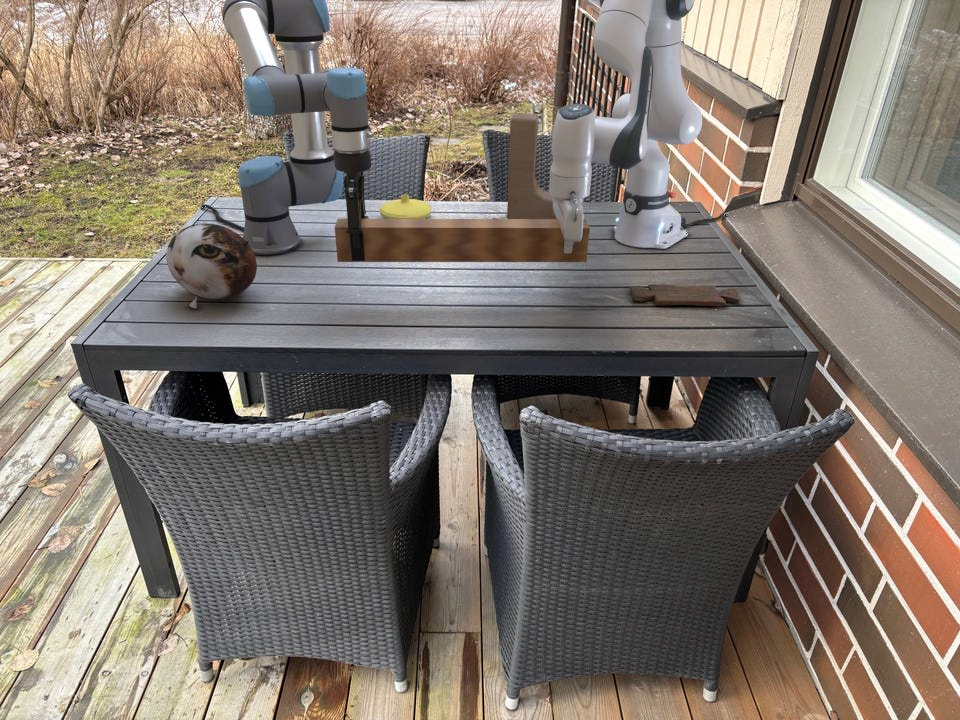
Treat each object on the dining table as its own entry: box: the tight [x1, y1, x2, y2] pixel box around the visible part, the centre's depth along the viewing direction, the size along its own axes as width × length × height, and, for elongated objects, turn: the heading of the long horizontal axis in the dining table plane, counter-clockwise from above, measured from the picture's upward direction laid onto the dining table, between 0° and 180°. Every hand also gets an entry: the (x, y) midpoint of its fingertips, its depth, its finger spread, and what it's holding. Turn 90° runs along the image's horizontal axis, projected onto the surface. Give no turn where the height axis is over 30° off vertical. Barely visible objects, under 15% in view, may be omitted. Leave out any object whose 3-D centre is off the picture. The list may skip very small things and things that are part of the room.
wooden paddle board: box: [629, 284, 740, 307], centre depth 171 cm, size 26×2×10 cm
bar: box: [334, 217, 591, 263], centre depth 158 cm, size 55×6×8 cm, turn 93°
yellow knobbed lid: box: [378, 194, 433, 219], centre depth 215 cm, size 16×16×7 cm
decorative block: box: [506, 112, 556, 219], centre depth 211 cm, size 8×15×30 cm, turn 82°
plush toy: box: [165, 222, 258, 309], centre depth 165 cm, size 22×18×20 cm
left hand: (359, 254), depth 159 cm, fingers closed on bar, 6 cm apart
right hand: (565, 246), depth 160 cm, fingers closed on bar, 5 cm apart
